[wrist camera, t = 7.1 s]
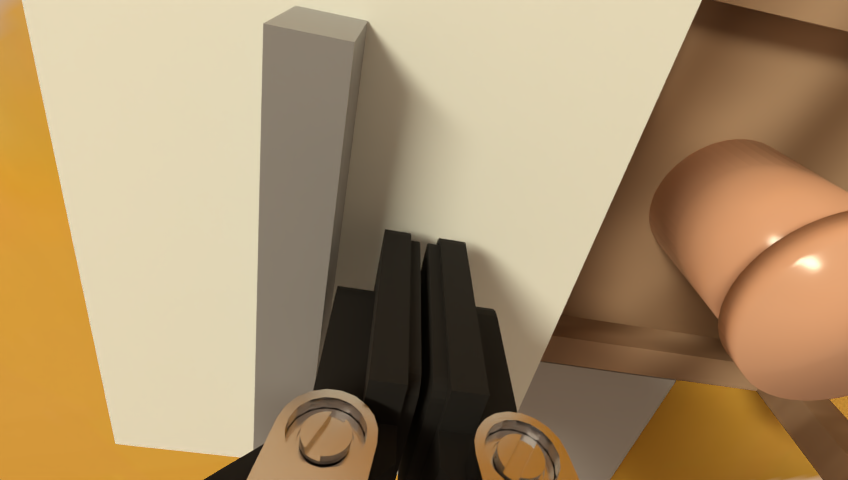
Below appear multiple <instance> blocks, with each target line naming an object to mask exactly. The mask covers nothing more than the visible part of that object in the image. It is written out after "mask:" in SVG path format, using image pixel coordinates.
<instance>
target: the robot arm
mask: <svg viewBox="0 0 848 480" xmlns="http://www.w3.org/2000/svg"><path fill="white" fill-rule="evenodd" d="M397 472H398V480H579V478H578V475H577V473H576V471H575V469H574V466H573V464H572V462H571V460H570V457H569V455H568V453H567V451H566V449H565V448H564V446H563V444H562V443H561V441H560V439H559V438H558V437H557V436H556V435H555V434H554V433H553V432H552V431H551V430H550V429H549V428H548V427H547V426H546V425H544V424H543V423H541V422H540V421H538V420H536V419H535V418H532V417H530V416H527V415H525V414H522V413H518V412H517V408H516V403H515V398H514V393H513V389H512V384H511V379H510V374H509V370H508V365H507V360H506V356H505V351H504V346H503V341H502V337H501V332H500V327H499V322H498V318H497V314H496V311H495V310H494V309H490V308H484V307H477V306H476V305H475V299H474V292H473V286H472V280H471V273H470V267H469V261H468V255H467V248H466V243H465V242H461V241H455V240H449V239H442V238H439V239H438V241H437V243H436V244H430V243H428V244H427V246H426V250H425V254H424V259H423V263H422V267H421V255H420V242H418V241H412V240H411V233H406V232H400V231H394V230H387V229H385V231H384V236H383V242H382V247H381V253H380V258H379V264H378V270H377V275H376V281H375V286H374V291H370V290H363V289H356V288H349V287H343V286H337V290H336V294H335V298H334V302H333V307H332V311H331V315H330V319H329V324H328V328H327V332H326V337H325V341H324V345H323V350H322V354H321V358H320V363H319V367H318V371H317V376H316V380H315V384H314V389H313V391H310V392H307V393H305V394H302V395H300V396H297V397H296V398H295V399H293V400H292V401H291V402H289V403H288V404H287V405H286V406H285V407H284V408H283V410H282V411H281V412H280V414H279V415H278V417H277V418H276V420H275V422H274V424H273V427H272V429H271V431H270V433H269V435H268V437H267V439H266V441H265V443H264V444H263V445H261V446H259V447H258V448H256V449H254V450H253V451H251V452H249V453H248V454H246V455H244V456H243V457H241V458H239V459H237V460H236V461H234V462H232V463H231V464H229V465H227V466H226V467H224V468H222V469H221V470H219V471H217V472H216V473H214V474H212V475H211V476H209V477H207V478H206V479H204V480H395V479H396V476H397Z"/></svg>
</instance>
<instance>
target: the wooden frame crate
mask: <svg viewBox="0 0 848 480" xmlns="http://www.w3.org/2000/svg"><path fill="white" fill-rule="evenodd" d="M733 139H748V140H755V141H758V142H762V143H764V144H766V145H768V146H770V147H772V148H774V149H775V150H777V151H779V152H780V153H782V154H784V155H785V156H787V157H789V158H791V159H792V160H794V161H796V162H797V163H799V164H801V165H802V166H804V167H806V168H808V169H809V170H811V171H813V172H814V173H816V174H818V175H819V176H821V177H823V178H825V179H826V180H828V181H830V182H831V183H833V184H835V185H836V186H838V187H840V188H842V189H843V190H845V191H847V192H848V0H702V1H701V3H700V5H699V8H698V10H697V12H696V14H695V16H694V19H693V21H692V23H691V25H690V28H689V30H688V32H687V34H686V37H685V39H684V41H683V43H682V46H681V48H680V50H679V52H678V54H677V57H676V59H675V61H674V63H673V66H672V68H671V70H670V72H669V75H668V77H667V79H666V81H665V84H664V86H663V88H662V90H661V92H660V95H659V97H658V99H657V101H656V104H655V106H654V108H653V110H652V113H651V115H650V117H649V119H648V122H647V124H646V126H645V128H644V130H643V133H642V135H641V137H640V139H639V142H638V144H637V146H636V148H635V151H634V153H633V155H632V157H631V160H630V162H629V164H628V166H627V168H626V171H625V173H624V175H623V177H622V180H621V182H620V184H619V186H618V189H617V191H616V193H615V195H614V198H613V200H612V202H611V204H610V206H609V209H608V211H607V213H606V215H605V218H604V220H603V222H602V224H601V227H600V229H599V231H598V233H597V236H596V238H595V240H594V242H593V244H592V247H591V249H590V251H589V253H588V256H587V258H586V260H585V262H584V265H583V267H582V269H581V271H580V274H579V276H578V278H577V280H576V282H575V285H574V287H573V289H572V291H571V294H570V296H569V298H568V300H567V303H566V305H565V307H564V309H563V312H562V314H561V316H560V318H559V320H558V323H557V325H556V327H555V329H554V332H553V334H552V336H551V338H550V341H549V343H548V345H547V347H546V350H545V352H544V354H543V356H542V358H541V361H545V362H552V363H559V364H566V365H574V366H581V367H588V368H595V369H603V370H610V371H617V372H624V373H631V374H639V375H646V376H653V377H660V378H668V379H675V380H682V381H689V382H696V383H704V384H711V385H718V386H725V387H733V388H740V389H747V390H754V391H757V392H758V394H759V395H760V396H761V398H762V399H763V400H764V402H765V403H766V404H767V406H768V407H769V408H770V410H771V411H772V412H773V414H774V415H775V416H776V418H777V419H778V420H779V422H780V423H781V424H782V426H783V427H784V428H785V430H786V431H787V432H788V434H789V435H790V436H791V438H792V439H793V440H794V442H795V443H796V444H797V446H798V447H799V448H800V450H801V451H802V452H803V454H804V455H805V456H806V458H807V459H808V460H809V462H810V463H811V464H812V466H813V467H814V468H815V470H816V471H817V472H818V474H819V475H820V476H821V478H822V479H823V480H848V420H847V419H846V418H845V416H844V415H843V414H842V413H841V412H840V411H839V410H838V409H837V407H836V406H835V405H834V404H833V403H832V402H831V401H830V400H829V399H825V400H812V401H801V400H789V399H784V398H779V397H776V396H773V395H770V394H767V393H765V392H763V391H761V390H759V389H758V388H756V387H755V386H754V385H752V384H751V383H750V382H749V381H748V380H747V379H746V378H745V376H744V375H743V374H742V372H741V371H740V370H739V368H738V367H737V366H736V364H735V363H734V362H733V360H732V359H731V358H730V356H729V355H728V354H727V352H726V351H725V349H724V347H723V346H722V344H721V341H720V338H719V332H718V318H717V317H716V316H715V315H714V313H713V312H712V311H711V309H710V308H709V307H708V306H707V304H706V303H705V302H704V301H703V299H702V298H701V297H700V296H699V294H698V293H697V292H696V290H695V289H694V288H693V287H692V285H691V284H690V283H689V282H688V280H687V279H686V278H685V277H684V275H683V274H682V273H681V272H680V270H679V269H678V268H677V266H676V265H675V264H674V263H673V261H672V260H671V259H670V258H669V256H668V255H667V254H666V253H665V251H664V250H663V249H662V247H661V246H660V245H659V244H658V242H657V241H656V240H655V238H654V236H653V234H652V232H651V229H650V224H649V211H650V206H651V202H652V199H653V196H654V194H655V192H656V190H657V188H658V186H659V185H660V183H661V182H662V180H663V179H664V178H665V176H666V175H667V174H668V173H669V172H670V171H671V170H672V169H673V168H674V167H675V166H676V165H677V164H678V163H679V162H681V161H682V160H683V159H685V158H686V157H687V156H689V155H691V154H692V153H694V152H696V151H697V150H699V149H702V148H704V147H706V146H708V145H711V144H714V143H717V142H721V141H725V140H733Z"/></svg>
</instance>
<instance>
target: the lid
mask: <svg viewBox="0 0 848 480" xmlns="http://www.w3.org/2000/svg"><path fill="white" fill-rule="evenodd" d="M701 1H702V0H22V3H23V8H24V12H25V17H26V22H27V27H28V31H29V36H30V41H31V46H32V50H33V55H34V60H35V64H36V69H37V74H38V79H39V83H40V88H41V93H42V98H43V102H44V107H45V112H46V117H47V121H48V126H49V131H50V136H51V140H52V145H53V150H54V155H55V159H56V164H57V169H58V174H59V178H60V183H61V188H62V193H63V197H64V202H65V207H66V212H67V216H68V221H69V226H70V231H71V235H72V240H73V245H74V249H75V254H76V259H77V264H78V268H79V273H80V278H81V283H82V287H83V292H84V297H85V302H86V306H87V311H88V316H89V321H90V325H91V330H92V335H93V340H94V344H95V349H96V354H97V359H98V363H99V368H100V373H101V378H102V382H103V387H104V392H105V397H106V401H107V406H108V411H109V415H110V420H111V425H112V430H113V434H114V439H115V444H122V445H131V446H140V447H149V448H159V449H168V450H177V451H186V452H196V453H205V454H214V455H224V456H233V457H243V456H244V455H246V454H248V453H249V452H251V451H253V450H254V449H256V448H258V447H259V446H261V445H263V444H264V443H265V441H266V439H267V437H268V435H269V433H270V431H271V429H272V427H273V424H274V422H275V420H276V418H277V417H278V415H279V414H280V412H281V411H282V410H283V408H284V407H285V406H286V405H287V404H288V403H289V402H291V401H292V400H293V399H295V398H296V397H297V396H300V395H302V394H305V393H307V392H310V391H313V389H314V384H315V380H316V376H317V371H318V367H319V363H320V358H321V354H322V350H323V345H324V341H325V337H326V332H327V328H328V324H329V319H330V315H331V311H332V307H333V302H334V298H335V294H336V290H337V286H343V287H349V288H356V289H363V290H370V291H374V286H375V281H376V275H377V270H378V264H379V258H380V253H381V247H382V242H383V236H384V231H385V229H387V230H394V231H400V232H406V233H411V240H412V241H418V242H420V255H421V267H422V263H423V259H424V254H425V250H426V246H427V244H428V243H430V244H436V243H437V241H438V239H439V238H442V239H449V240H455V241H461V242H465V243H466V248H467V255H468V261H469V267H470V273H471V280H472V286H473V292H474V299H475V305H476V306H477V307H484V308H490V309H494V310H495V311H496V314H497V318H498V322H499V327H500V332H501V337H502V341H503V346H504V351H505V356H506V360H507V365H508V370H509V374H510V379H511V384H512V389H513V393H514V398H515V403H516V408H517V412H518V410H519V408H520V405H521V403H522V401H523V399H524V396H525V394H526V392H527V390H528V388H529V385H530V383H531V381H532V379H533V376H534V374H535V372H536V370H537V367H538V365H539V363H540V361H541V358H542V356H543V354H544V352H545V350H546V347H547V345H548V343H549V341H550V338H551V336H552V334H553V332H554V329H555V327H556V325H557V323H558V320H559V318H560V316H561V314H562V312H563V309H564V307H565V305H566V303H567V300H568V298H569V296H570V294H571V291H572V289H573V287H574V285H575V282H576V280H577V278H578V276H579V274H580V271H581V269H582V267H583V265H584V262H585V260H586V258H587V256H588V253H589V251H590V249H591V247H592V244H593V242H594V240H595V238H596V236H597V233H598V231H599V229H600V227H601V224H602V222H603V220H604V218H605V215H606V213H607V211H608V209H609V206H610V204H611V202H612V200H613V198H614V195H615V193H616V191H617V189H618V186H619V184H620V182H621V180H622V177H623V175H624V173H625V171H626V168H627V166H628V164H629V162H630V160H631V157H632V155H633V153H634V151H635V148H636V146H637V144H638V142H639V139H640V137H641V135H642V133H643V130H644V128H645V126H646V124H647V122H648V119H649V117H650V115H651V113H652V110H653V108H654V106H655V104H656V101H657V99H658V97H659V95H660V92H661V90H662V88H663V86H664V84H665V81H666V79H667V77H668V75H669V72H670V70H671V68H672V66H673V63H674V61H675V59H676V57H677V54H678V52H679V50H680V48H681V46H682V43H683V41H684V39H685V37H686V34H687V32H688V30H689V28H690V25H691V23H692V21H693V19H694V16H695V14H696V12H697V10H698V8H699V5H700V3H701ZM397 474H398V472H397Z"/></svg>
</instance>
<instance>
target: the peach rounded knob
mask: <svg viewBox="0 0 848 480" xmlns="http://www.w3.org/2000/svg"><path fill="white" fill-rule="evenodd" d="M649 224H650V229H651V232H652V234H653V236H654V238H655V240H656V241H657V242H658V244H659V245H660V246H661V247H662V249H663V250H664V251H665V253H666V254H667V255H668V256H669V258H670V259H671V260H672V261H673V263H674V264H675V265H676V266H677V268H678V269H679V270H680V272H681V273H682V274H683V275H684V277H685V278H686V279H687V280H688V282H689V283H690V284H691V285H692V287H693V288H694V289H695V290H696V292H697V293H698V294H699V296H700V297H701V298H702V299H703V301H704V302H705V303H706V304H707V306H708V307H709V308H710V309H711V311H712V312H713V313H714V315H715V316H716V317H717V318H718V332H719V338H720V341H721V344H722V346H723V347H724V349H725V351H726V352H727V354H728V355H729V356H730V358H731V359H732V360H733V362H734V363H735V364H736V366H737V367H738V368H739V370H740V371H741V372H742V374H743V375H744V376H745V378H746V379H747V380H748V381H749V382H750V383H751V384H752V385H754V386H755V387H756V388H758V389H759V390H761V391H763V392H765V393H767V394H770V395H773V396H776V397H779V398H784V399H789V400H801V401H812V400H825V399H833V398H839V397H844V396H848V192H847V191H845V190H843V189H842V188H840V187H838V186H836V185H835V184H833V183H831V182H830V181H828V180H826V179H825V178H823V177H821V176H819V175H818V174H816V173H814V172H813V171H811V170H809V169H808V168H806V167H804V166H802V165H801V164H799V163H797V162H796V161H794V160H792V159H791V158H789V157H787V156H785V155H784V154H782V153H780V152H779V151H777V150H775V149H774V148H772V147H770V146H768V145H766V144H764V143H762V142H758V141H755V140H748V139H733V140H725V141H721V142H717V143H714V144H711V145H708V146H706V147H704V148H702V149H699V150H697V151H696V152H694V153H692V154H691V155H689V156H687V157H686V158H685V159H683V160H682V161H681V162H679V163H678V164H677V165H676V166H675V167H674V168H673V169H672V170H671V171H670V172H669V173H668V174H667V175H666V176H665V178H664V179H663V180H662V182H661V183H660V185H659V186H658V188H657V190H656V192H655V194H654V196H653V199H652V202H651V206H650V211H649Z"/></svg>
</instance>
